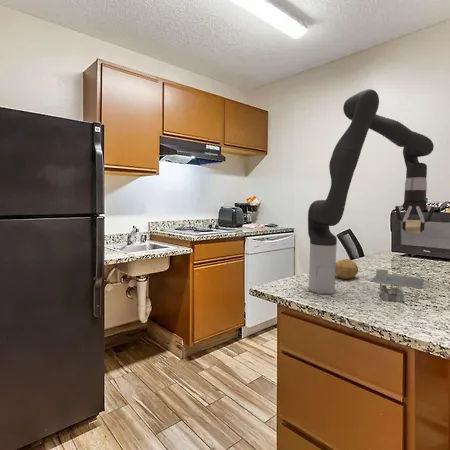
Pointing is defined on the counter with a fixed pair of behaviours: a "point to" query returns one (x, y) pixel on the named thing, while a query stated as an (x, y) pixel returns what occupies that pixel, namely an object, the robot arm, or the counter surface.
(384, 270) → the sage block
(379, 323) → the counter surface
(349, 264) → the potato
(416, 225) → the maple block
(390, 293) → the miniature stone castle
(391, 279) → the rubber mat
